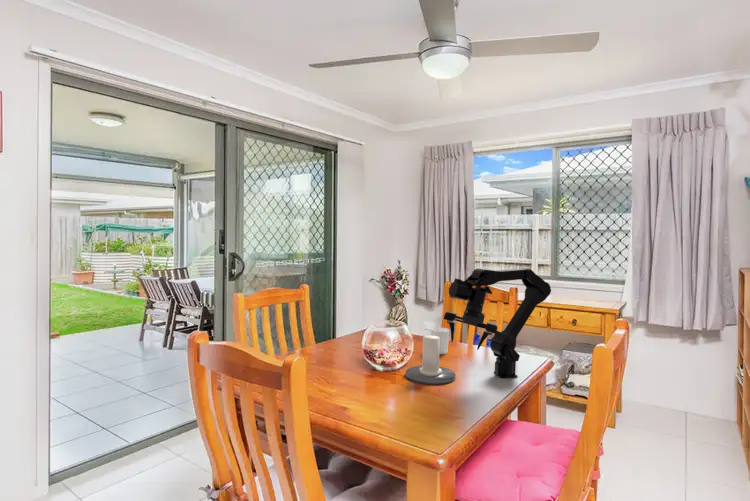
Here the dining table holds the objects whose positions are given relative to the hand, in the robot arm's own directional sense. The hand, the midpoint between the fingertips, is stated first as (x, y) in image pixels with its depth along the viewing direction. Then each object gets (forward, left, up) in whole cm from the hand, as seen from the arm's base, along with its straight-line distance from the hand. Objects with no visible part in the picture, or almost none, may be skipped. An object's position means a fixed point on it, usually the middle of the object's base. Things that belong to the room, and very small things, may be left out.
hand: (464, 345), depth 158 cm
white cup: (-3, -35, -12) cm, 38 cm away
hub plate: (+11, -5, -12) cm, 17 cm away
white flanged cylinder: (+11, -5, -11) cm, 16 cm away
